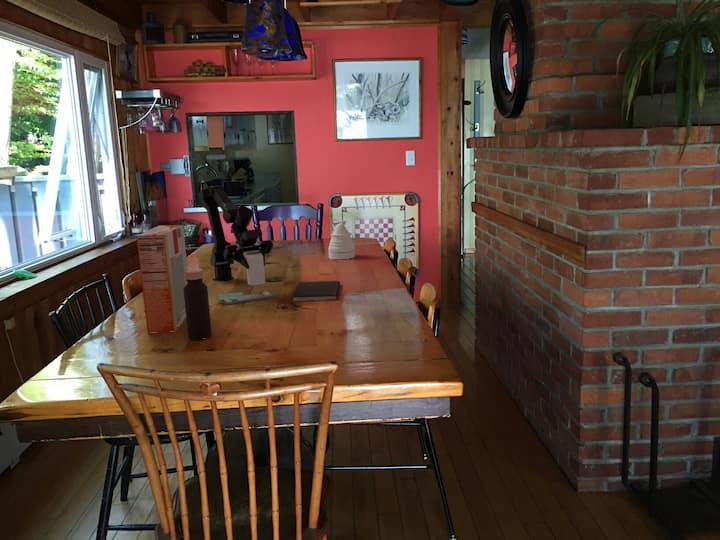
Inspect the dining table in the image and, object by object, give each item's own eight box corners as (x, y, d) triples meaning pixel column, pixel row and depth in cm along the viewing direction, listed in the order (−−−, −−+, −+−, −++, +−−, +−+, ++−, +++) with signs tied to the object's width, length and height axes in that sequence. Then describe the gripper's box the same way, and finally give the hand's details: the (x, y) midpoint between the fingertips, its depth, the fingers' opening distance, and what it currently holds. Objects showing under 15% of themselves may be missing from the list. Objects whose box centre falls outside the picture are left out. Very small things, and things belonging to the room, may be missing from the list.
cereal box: (168, 313, 205) (158, 225, 199) (191, 311, 205) (183, 224, 199) (147, 333, 183) (136, 236, 176) (174, 332, 183) (164, 234, 177)
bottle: (190, 342, 173) (183, 274, 169) (186, 335, 179) (180, 270, 175) (213, 338, 175) (207, 271, 171) (209, 332, 182) (203, 267, 177)
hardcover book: (292, 302, 214) (291, 296, 214) (299, 287, 237) (299, 281, 236) (336, 301, 214) (336, 295, 213) (340, 286, 236) (339, 280, 236)
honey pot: (360, 256, 296) (358, 219, 292) (345, 260, 285) (343, 223, 281) (338, 254, 303) (336, 218, 299) (323, 258, 292) (321, 222, 288)
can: (268, 282, 229) (266, 251, 227) (258, 286, 223) (256, 254, 221) (254, 281, 232) (251, 250, 229) (244, 285, 226) (241, 254, 224)
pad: (217, 295, 227) (217, 294, 227) (241, 292, 229) (241, 292, 229) (219, 300, 218) (219, 300, 218) (244, 298, 221) (244, 297, 221)
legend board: (227, 304, 213) (227, 300, 213) (223, 300, 218) (223, 297, 218) (276, 297, 221) (275, 293, 221) (271, 293, 226) (270, 290, 226)
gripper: (223, 224, 221) (238, 257, 214) (269, 219, 231) (284, 251, 224) (217, 242, 229) (231, 275, 222) (262, 236, 239) (276, 268, 232)
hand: (256, 267), depth 225 cm, fingers closed on can, 6 cm apart
